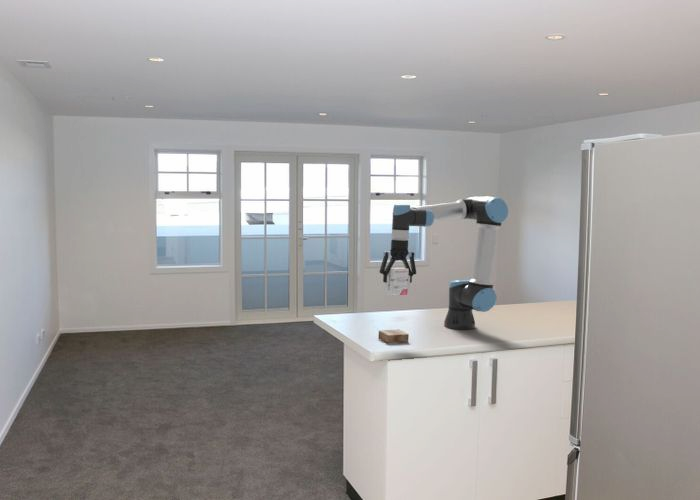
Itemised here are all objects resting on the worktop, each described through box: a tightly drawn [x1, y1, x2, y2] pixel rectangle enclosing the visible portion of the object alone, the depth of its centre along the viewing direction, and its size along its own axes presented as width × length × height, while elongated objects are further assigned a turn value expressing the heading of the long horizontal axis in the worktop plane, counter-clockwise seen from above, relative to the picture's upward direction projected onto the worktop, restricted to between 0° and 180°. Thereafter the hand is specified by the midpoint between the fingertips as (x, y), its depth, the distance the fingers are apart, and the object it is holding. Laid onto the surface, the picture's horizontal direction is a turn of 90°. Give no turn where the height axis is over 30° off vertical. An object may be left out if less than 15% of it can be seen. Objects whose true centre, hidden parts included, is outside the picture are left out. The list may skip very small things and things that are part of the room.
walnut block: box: [377, 329, 410, 344], centre depth 299 cm, size 10×10×4 cm
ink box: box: [385, 267, 409, 296], centre depth 299 cm, size 9×5×12 cm, turn 121°
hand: (396, 289), depth 299 cm, fingers closed on ink box, 9 cm apart
